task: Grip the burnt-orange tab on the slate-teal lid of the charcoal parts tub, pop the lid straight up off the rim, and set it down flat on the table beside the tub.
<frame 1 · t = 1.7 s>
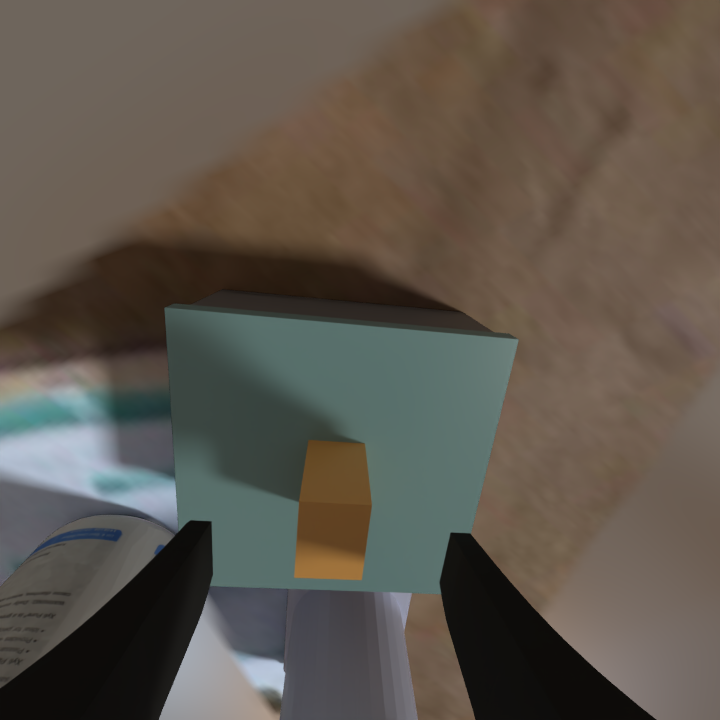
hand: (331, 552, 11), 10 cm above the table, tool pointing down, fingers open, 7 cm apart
lid: (334, 452, 17), point 4 cm above the table, touching parts tub
parts tub: (335, 409, 21), on the table
supplement tub: (130, 565, 24), on the table
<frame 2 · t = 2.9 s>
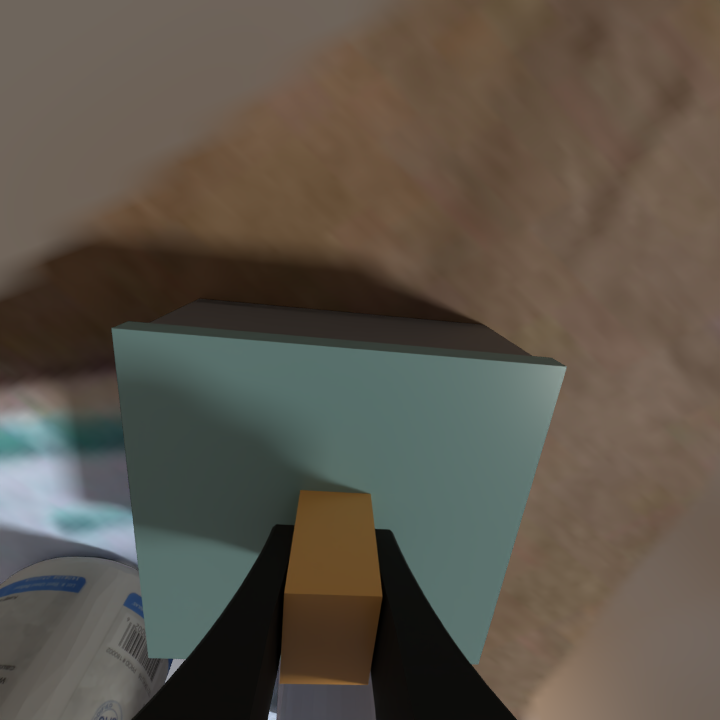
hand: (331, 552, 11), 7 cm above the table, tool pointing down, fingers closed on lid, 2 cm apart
lid: (333, 497, 14), point 4 cm above the table, touching gripper, parts tub
parts tub: (334, 437, 18), on the table
supplement tub: (100, 610, 21), on the table
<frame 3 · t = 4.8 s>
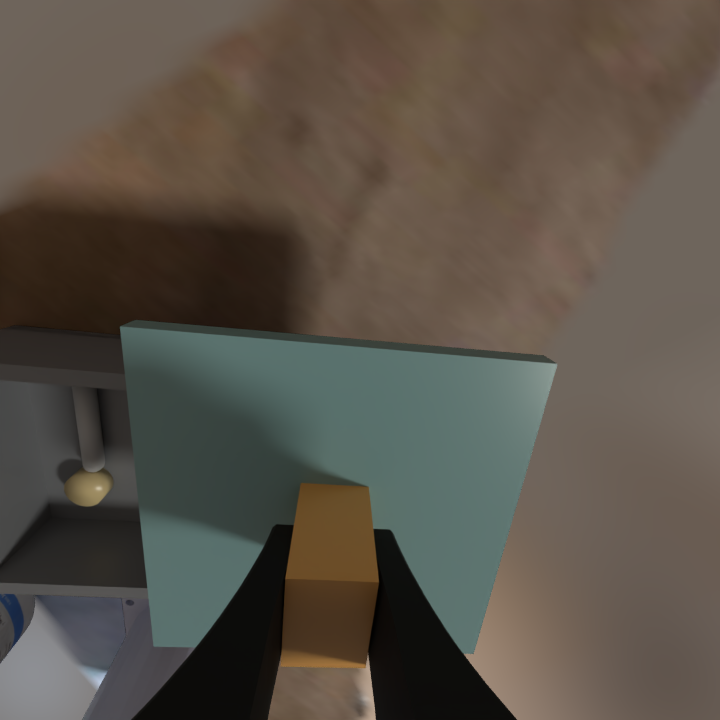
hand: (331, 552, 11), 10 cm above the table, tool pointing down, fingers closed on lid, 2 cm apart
lid: (332, 490, 14), point 8 cm above the table, touching gripper
parts tub: (145, 438, 21), on the table
when the fingers open (4 cm above the table, at t = 6.9 s): lid stays where it is, on the table.
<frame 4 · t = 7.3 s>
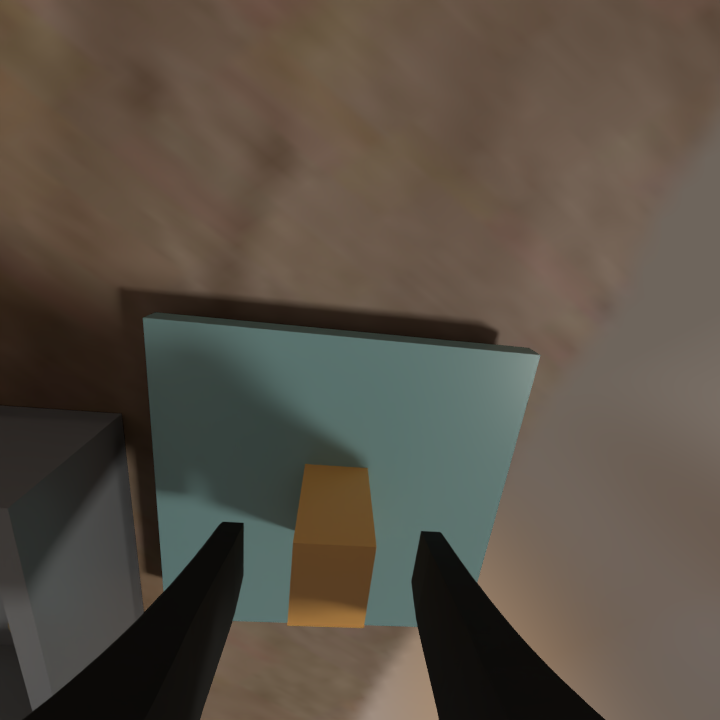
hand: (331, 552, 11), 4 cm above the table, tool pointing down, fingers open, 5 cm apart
lid: (333, 474, 15), on the table
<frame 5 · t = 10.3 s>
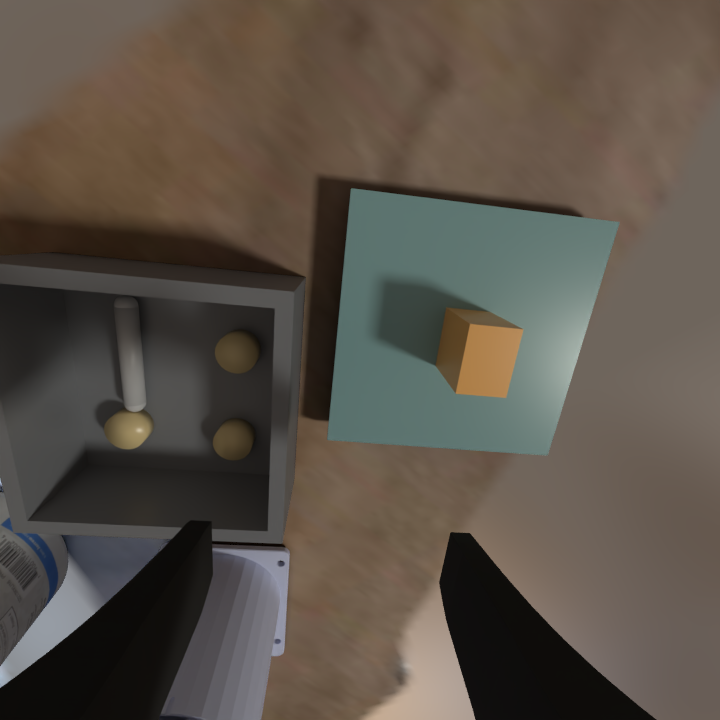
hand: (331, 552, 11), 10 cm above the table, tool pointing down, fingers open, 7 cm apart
lid: (453, 331, 20), on the table
parts tub: (187, 378, 20), on the table
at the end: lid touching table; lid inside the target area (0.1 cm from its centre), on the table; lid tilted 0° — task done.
